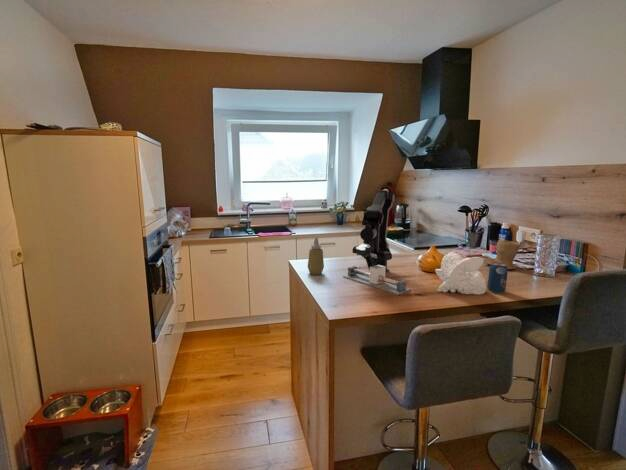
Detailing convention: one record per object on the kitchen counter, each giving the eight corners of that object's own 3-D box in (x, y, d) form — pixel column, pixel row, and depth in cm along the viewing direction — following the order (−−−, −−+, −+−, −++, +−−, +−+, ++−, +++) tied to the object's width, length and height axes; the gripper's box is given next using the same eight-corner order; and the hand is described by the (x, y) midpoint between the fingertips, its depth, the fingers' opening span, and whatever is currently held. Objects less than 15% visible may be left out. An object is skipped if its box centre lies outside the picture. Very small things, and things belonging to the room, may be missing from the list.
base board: (343, 277, 167) (343, 275, 166) (356, 273, 172) (356, 272, 172) (397, 294, 144) (397, 293, 144) (410, 290, 149) (410, 288, 149)
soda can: (504, 295, 146) (507, 267, 144) (486, 291, 149) (489, 264, 147) (505, 290, 152) (509, 263, 149) (487, 287, 155) (490, 261, 153)
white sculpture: (506, 274, 143) (471, 250, 138) (480, 316, 143) (444, 293, 138) (475, 265, 161) (444, 243, 156) (453, 302, 161) (420, 281, 156)
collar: (369, 282, 157) (369, 266, 155) (377, 279, 161) (378, 264, 159) (376, 284, 154) (376, 268, 152) (384, 281, 158) (385, 266, 156)
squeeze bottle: (322, 276, 167) (323, 239, 164) (305, 275, 169) (306, 238, 165) (325, 271, 175) (326, 236, 172) (309, 270, 176) (309, 235, 173)
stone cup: (521, 269, 186) (525, 241, 183) (507, 271, 181) (510, 243, 178) (495, 262, 199) (498, 236, 197) (481, 264, 194) (484, 238, 191)
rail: (347, 276, 168) (348, 267, 167) (354, 274, 170) (354, 265, 170) (399, 293, 146) (400, 282, 145) (405, 291, 148) (406, 280, 148)
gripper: (344, 236, 158) (343, 269, 161) (377, 243, 144) (375, 279, 147) (361, 233, 165) (359, 265, 168) (393, 239, 151) (391, 274, 154)
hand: (370, 271), depth 159 cm, fingers closed
